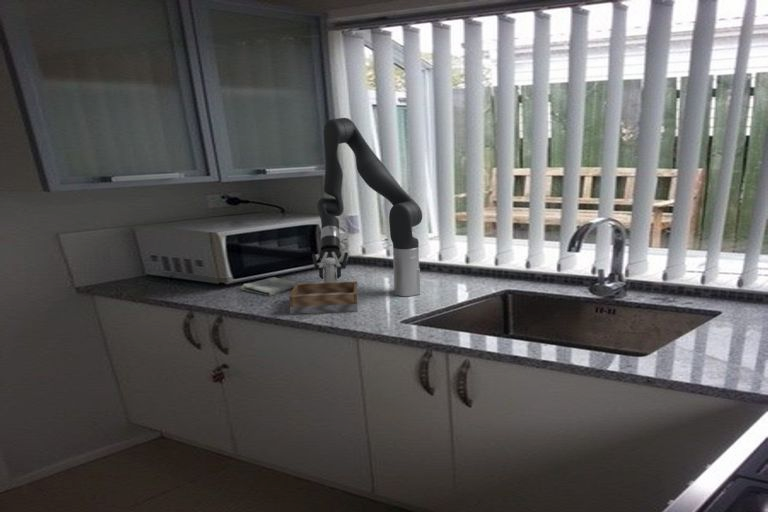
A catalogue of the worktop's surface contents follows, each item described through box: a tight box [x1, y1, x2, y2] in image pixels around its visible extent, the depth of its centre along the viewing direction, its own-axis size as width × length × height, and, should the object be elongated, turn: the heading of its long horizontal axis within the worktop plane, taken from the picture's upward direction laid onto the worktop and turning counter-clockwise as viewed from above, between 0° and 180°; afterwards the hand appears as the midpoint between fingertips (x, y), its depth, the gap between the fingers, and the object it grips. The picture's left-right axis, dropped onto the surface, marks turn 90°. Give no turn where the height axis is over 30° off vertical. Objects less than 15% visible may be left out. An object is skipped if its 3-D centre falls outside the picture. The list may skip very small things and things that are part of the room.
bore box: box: [288, 281, 359, 315], centre depth 179 cm, size 22×16×6 cm
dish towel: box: [240, 276, 303, 297], centre depth 205 cm, size 19×18×3 cm
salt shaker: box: [322, 258, 339, 283], centre depth 195 cm, size 6×6×13 cm
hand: (330, 277), depth 193 cm, fingers open, 5 cm apart
